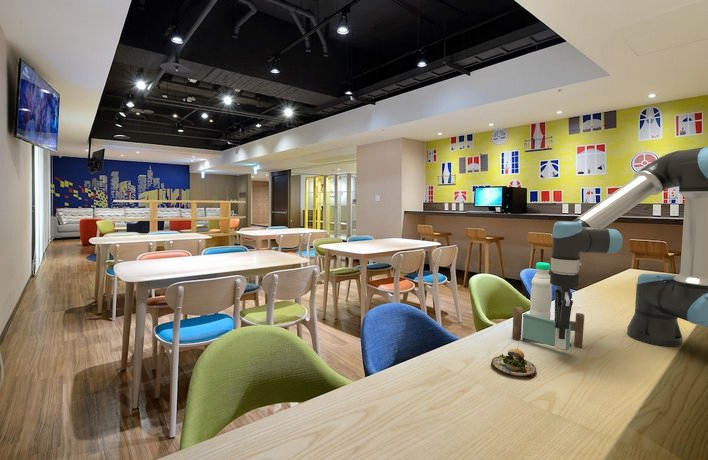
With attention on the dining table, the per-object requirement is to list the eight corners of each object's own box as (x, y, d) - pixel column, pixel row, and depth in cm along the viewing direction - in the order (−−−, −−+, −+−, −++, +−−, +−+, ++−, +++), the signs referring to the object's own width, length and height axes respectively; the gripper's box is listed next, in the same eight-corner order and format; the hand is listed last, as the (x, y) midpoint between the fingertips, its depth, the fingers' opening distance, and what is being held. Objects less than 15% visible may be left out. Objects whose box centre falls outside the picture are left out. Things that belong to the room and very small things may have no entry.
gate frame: (579, 343, 124) (581, 311, 123) (582, 348, 120) (584, 315, 119) (511, 335, 131) (513, 305, 130) (512, 339, 127) (514, 308, 126)
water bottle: (552, 332, 134) (556, 265, 131) (531, 331, 135) (535, 264, 133) (546, 326, 141) (550, 261, 138) (526, 324, 142) (530, 260, 140)
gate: (521, 337, 125) (523, 314, 125) (524, 335, 126) (525, 313, 126) (567, 350, 114) (569, 325, 114) (569, 349, 116) (571, 324, 115)
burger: (482, 364, 108) (483, 340, 107) (512, 358, 113) (513, 334, 112) (514, 384, 97) (516, 357, 96) (546, 376, 102) (548, 350, 101)
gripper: (584, 277, 104) (579, 358, 106) (573, 269, 116) (568, 342, 118) (555, 275, 106) (550, 354, 108) (546, 268, 118) (542, 339, 120)
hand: (560, 347), depth 113 cm, fingers closed
